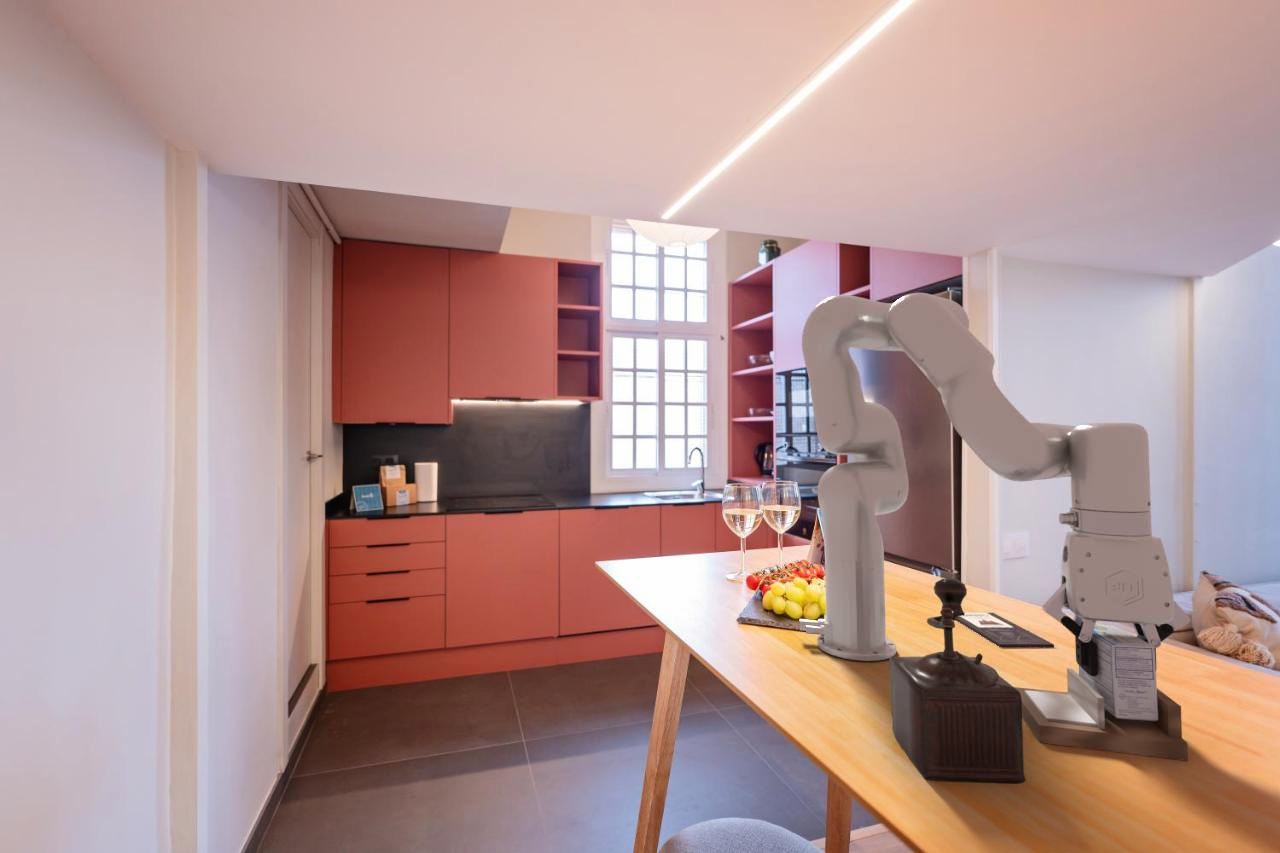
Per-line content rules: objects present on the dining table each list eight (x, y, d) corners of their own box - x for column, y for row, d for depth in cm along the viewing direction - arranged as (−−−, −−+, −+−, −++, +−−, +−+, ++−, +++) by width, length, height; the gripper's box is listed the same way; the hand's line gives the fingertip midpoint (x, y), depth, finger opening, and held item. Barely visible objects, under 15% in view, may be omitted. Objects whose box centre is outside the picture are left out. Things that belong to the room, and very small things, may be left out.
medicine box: (1159, 723, 66) (1157, 646, 66) (1115, 719, 67) (1112, 643, 67) (1117, 693, 74) (1115, 624, 74) (1078, 690, 75) (1076, 622, 75)
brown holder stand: (1039, 742, 68) (1038, 694, 68) (1011, 701, 78) (1010, 660, 79) (1188, 761, 64) (1186, 710, 64) (1136, 715, 74) (1135, 671, 74)
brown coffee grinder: (1034, 785, 60) (1029, 609, 60) (923, 781, 61) (919, 608, 61) (963, 714, 75) (959, 574, 76) (875, 711, 76) (872, 574, 77)
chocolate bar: (999, 644, 99) (947, 612, 117) (999, 649, 99) (947, 617, 117) (1054, 644, 98) (993, 612, 116) (1054, 649, 98) (993, 617, 116)
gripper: (1040, 526, 70) (1045, 679, 69) (1217, 531, 65) (1223, 696, 64) (1020, 517, 77) (1024, 656, 77) (1178, 521, 72) (1183, 670, 71)
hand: (1115, 672), depth 70 cm, fingers closed on medicine box, 4 cm apart
